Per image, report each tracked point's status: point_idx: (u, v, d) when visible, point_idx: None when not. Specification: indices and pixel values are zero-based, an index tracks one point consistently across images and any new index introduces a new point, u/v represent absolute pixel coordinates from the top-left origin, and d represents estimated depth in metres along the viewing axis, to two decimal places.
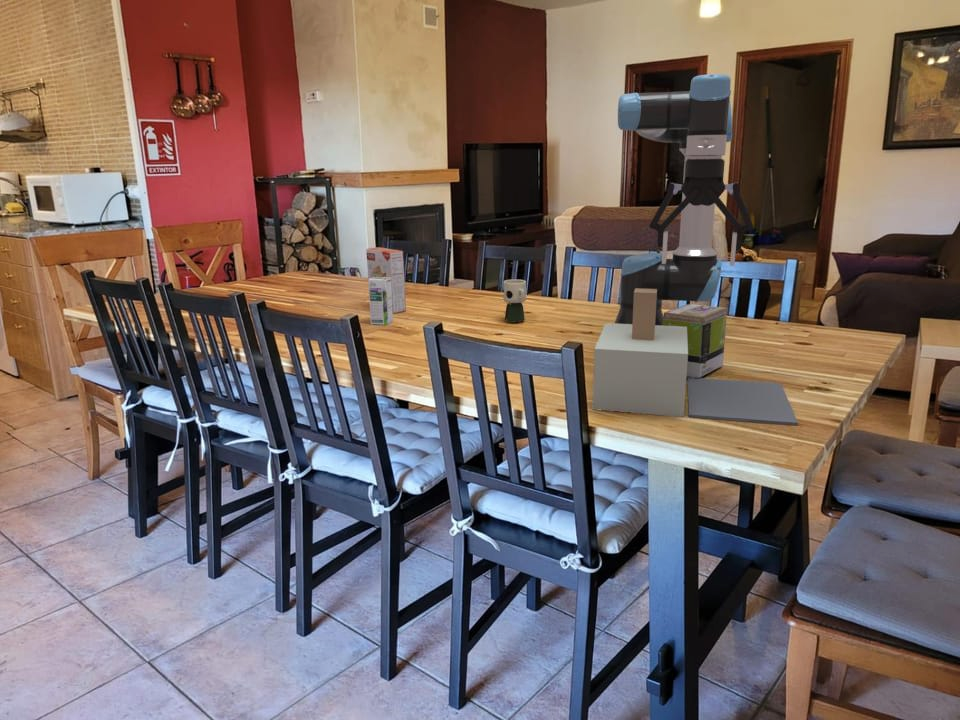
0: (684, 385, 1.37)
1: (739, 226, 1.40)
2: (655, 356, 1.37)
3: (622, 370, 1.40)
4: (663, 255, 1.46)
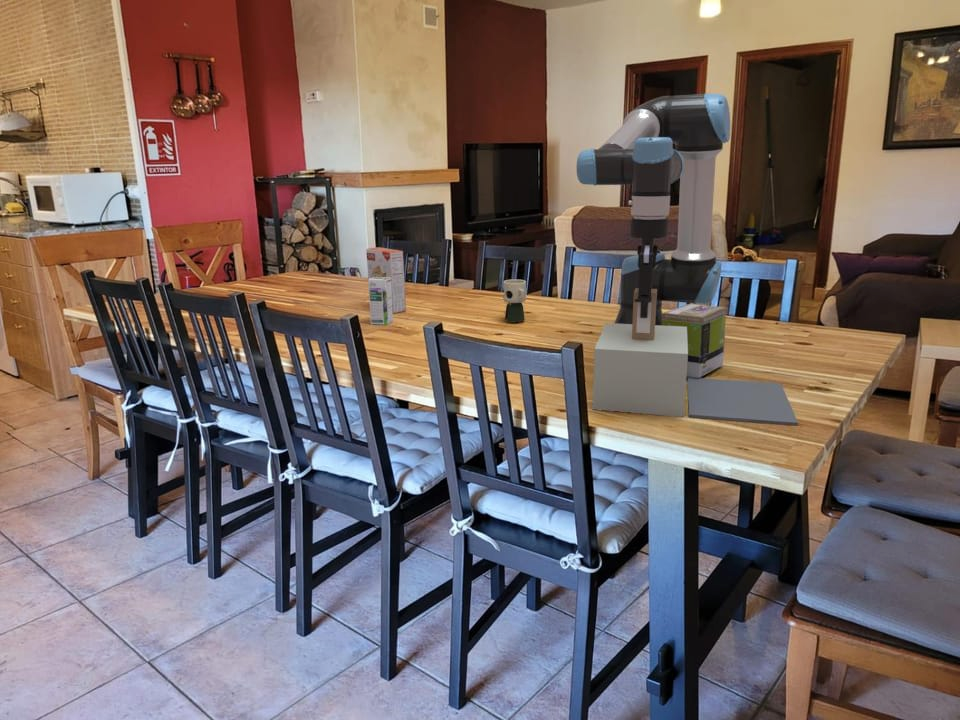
0: (684, 385, 1.37)
1: None
2: (655, 356, 1.37)
3: (622, 370, 1.40)
4: None
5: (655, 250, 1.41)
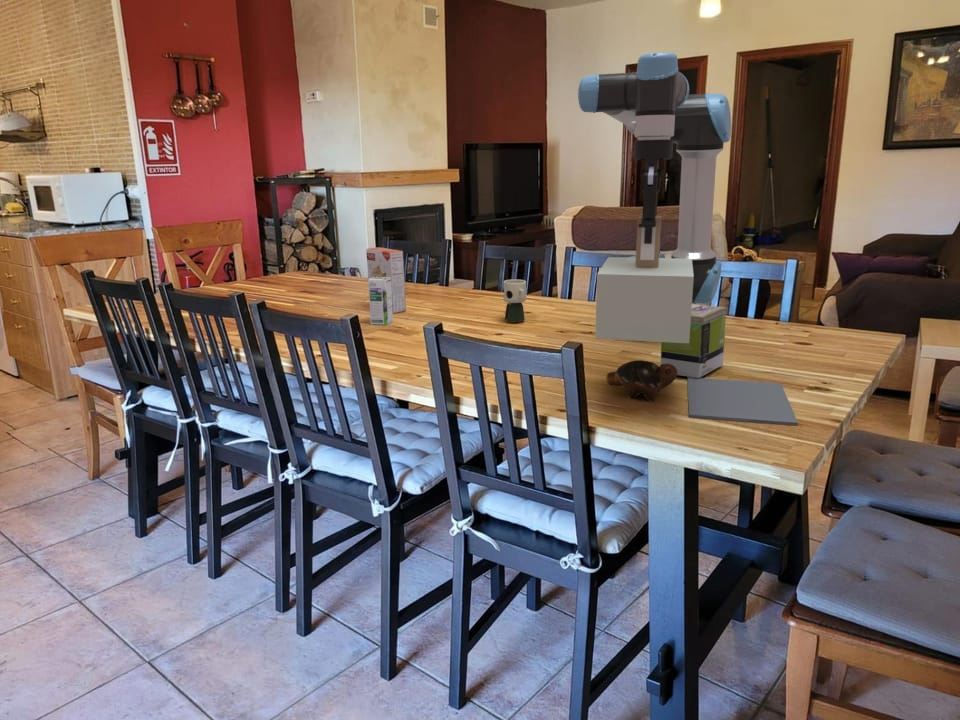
0: (690, 310, 1.33)
1: None
2: (660, 280, 1.33)
3: (625, 295, 1.36)
4: None
5: (659, 172, 1.37)
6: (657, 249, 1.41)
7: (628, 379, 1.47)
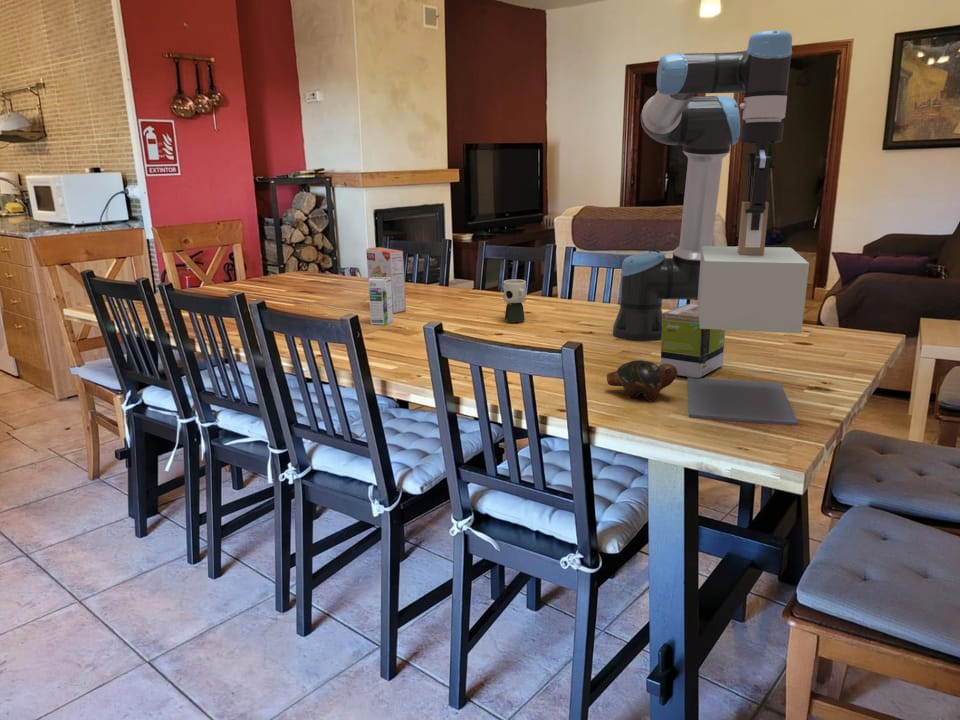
0: (803, 298, 1.28)
1: (750, 205, 1.33)
2: (772, 267, 1.28)
3: (734, 283, 1.30)
4: None
5: (769, 156, 1.32)
6: (763, 236, 1.35)
7: (628, 379, 1.47)
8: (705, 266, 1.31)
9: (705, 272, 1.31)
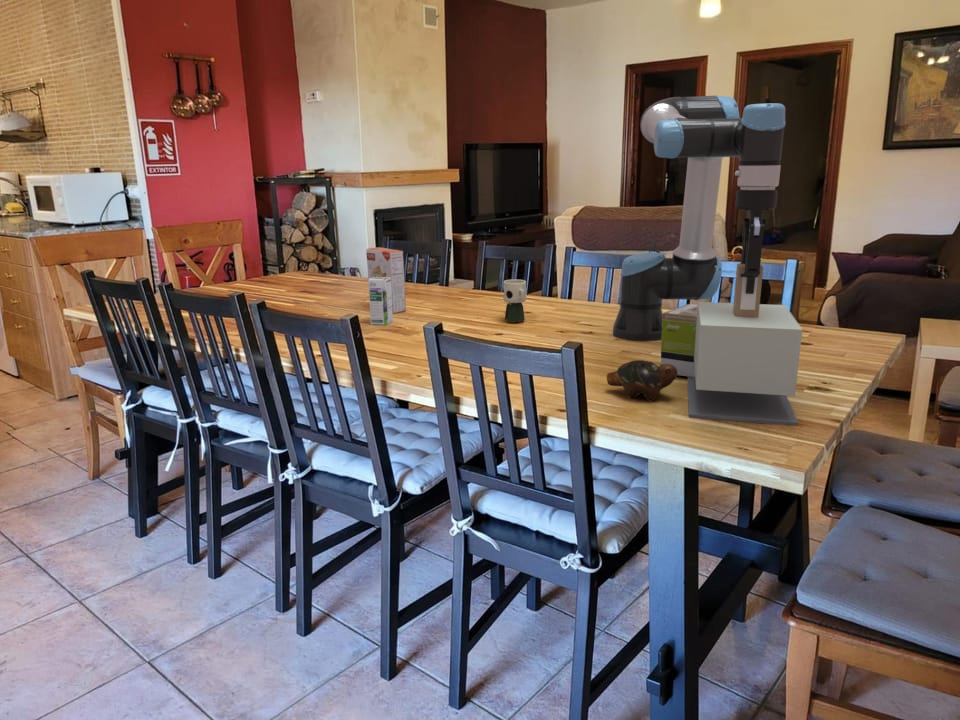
0: (797, 362, 1.31)
1: (745, 270, 1.36)
2: (766, 332, 1.31)
3: (729, 347, 1.34)
4: None
5: (763, 222, 1.35)
6: (758, 298, 1.39)
7: (628, 379, 1.47)
8: (701, 330, 1.34)
9: (701, 336, 1.34)
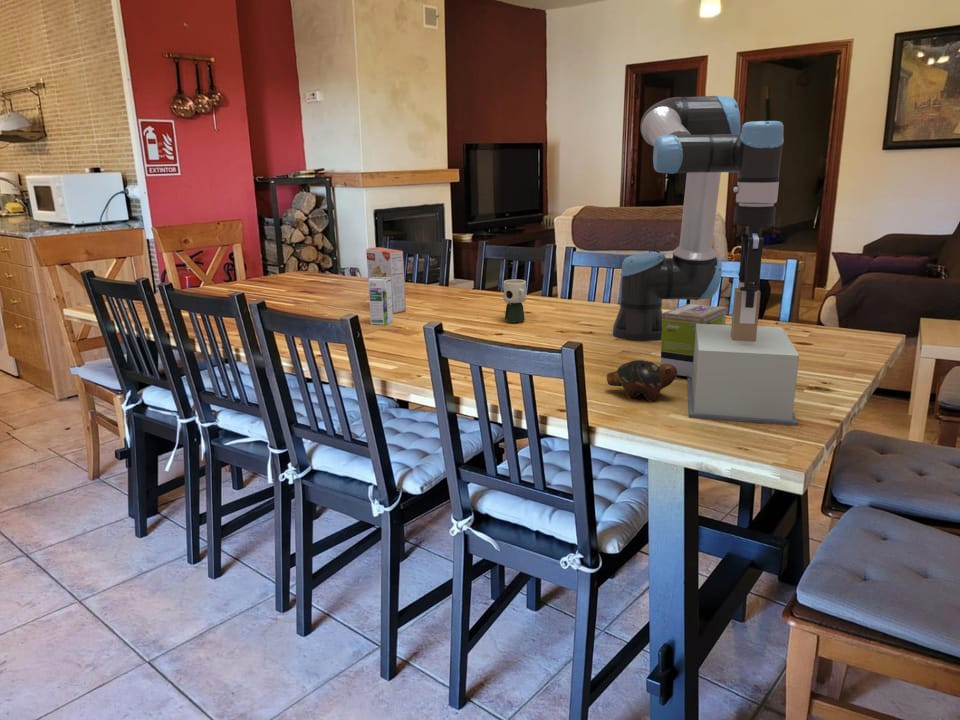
0: (794, 388, 1.33)
1: (744, 284, 1.36)
2: (764, 358, 1.33)
3: (727, 372, 1.35)
4: None
5: (762, 238, 1.36)
6: (755, 323, 1.40)
7: (628, 379, 1.47)
8: (699, 355, 1.36)
9: (699, 361, 1.36)
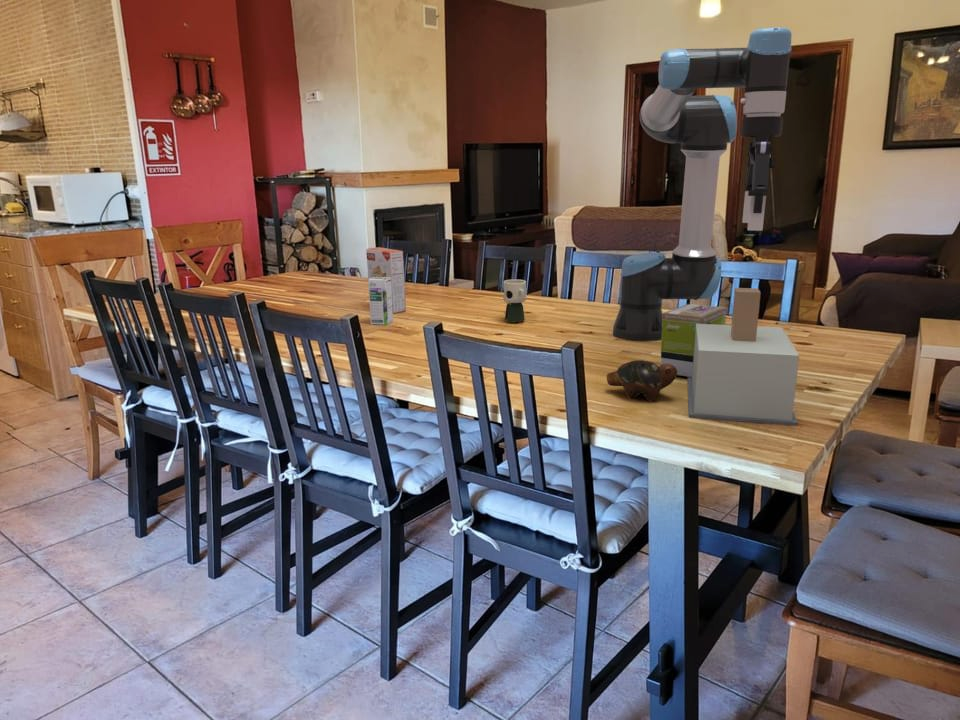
0: (794, 388, 1.33)
1: (752, 188, 1.33)
2: (764, 358, 1.33)
3: (727, 372, 1.35)
4: (743, 214, 1.48)
5: None
6: (755, 323, 1.40)
7: (628, 379, 1.47)
8: (699, 355, 1.36)
9: (699, 361, 1.36)
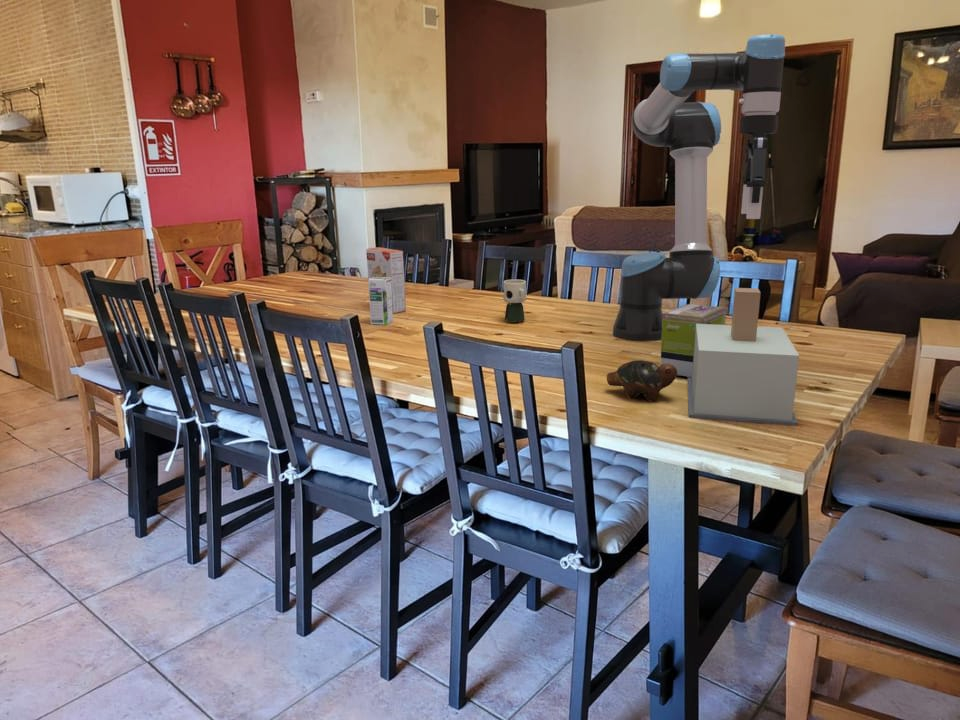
0: (794, 388, 1.33)
1: (750, 180, 1.46)
2: (764, 358, 1.33)
3: (727, 372, 1.35)
4: None
5: (765, 144, 1.48)
6: (755, 323, 1.40)
7: (628, 379, 1.47)
8: (699, 355, 1.36)
9: (699, 361, 1.36)
